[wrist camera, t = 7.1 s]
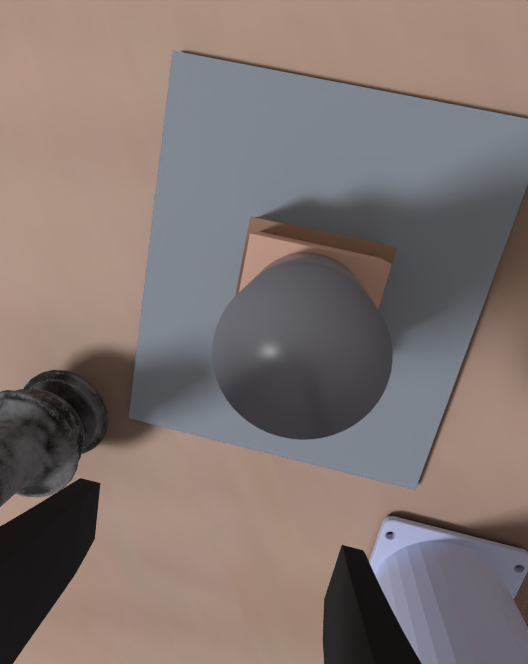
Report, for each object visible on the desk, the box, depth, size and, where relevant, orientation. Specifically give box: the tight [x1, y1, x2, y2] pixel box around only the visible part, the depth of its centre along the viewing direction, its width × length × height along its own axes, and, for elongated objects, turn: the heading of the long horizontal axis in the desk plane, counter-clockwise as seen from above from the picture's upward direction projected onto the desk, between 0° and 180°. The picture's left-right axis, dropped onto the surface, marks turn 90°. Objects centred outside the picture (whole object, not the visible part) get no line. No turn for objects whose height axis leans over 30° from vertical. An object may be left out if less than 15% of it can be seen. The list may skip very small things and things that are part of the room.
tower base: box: [235, 217, 397, 308], centre depth 18 cm, size 6×6×2 cm
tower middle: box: [239, 232, 392, 310], centre depth 16 cm, size 5×5×2 cm
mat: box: [128, 51, 528, 490], centre depth 20 cm, size 18×16×1 cm
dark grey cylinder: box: [212, 252, 393, 440], centre depth 12 cm, size 4×4×5 cm
